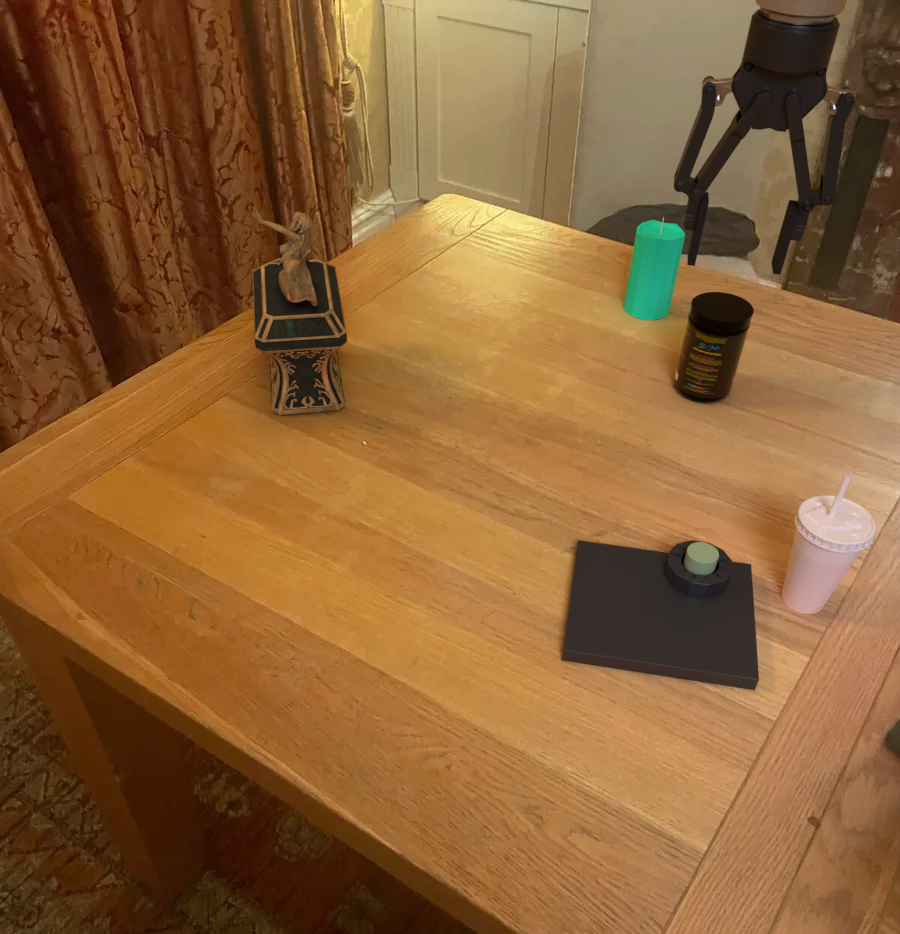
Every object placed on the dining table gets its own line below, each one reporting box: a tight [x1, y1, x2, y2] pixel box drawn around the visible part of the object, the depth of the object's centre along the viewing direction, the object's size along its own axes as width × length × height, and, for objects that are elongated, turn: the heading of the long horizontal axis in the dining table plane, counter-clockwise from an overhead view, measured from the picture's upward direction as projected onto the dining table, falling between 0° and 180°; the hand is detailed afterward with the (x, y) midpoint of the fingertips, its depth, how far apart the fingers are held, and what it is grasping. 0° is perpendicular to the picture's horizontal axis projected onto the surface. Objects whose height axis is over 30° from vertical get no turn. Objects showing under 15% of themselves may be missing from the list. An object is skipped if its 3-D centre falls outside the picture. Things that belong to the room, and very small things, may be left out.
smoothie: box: [781, 473, 877, 615], centre depth 77 cm, size 6×6×14 cm
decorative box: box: [250, 206, 348, 416], centre depth 97 cm, size 20×10×20 cm, turn 9°
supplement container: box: [673, 291, 755, 404], centre depth 102 cm, size 7×7×10 cm
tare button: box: [684, 541, 719, 575], centre depth 81 cm, size 3×3×2 cm
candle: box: [623, 216, 686, 321], centre depth 115 cm, size 6×6×12 cm
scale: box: [561, 539, 760, 691], centre depth 79 cm, size 16×14×3 cm
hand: (733, 263), depth 95 cm, fingers open, 8 cm apart
